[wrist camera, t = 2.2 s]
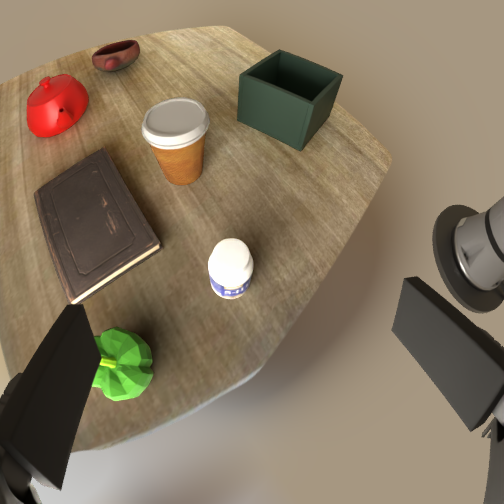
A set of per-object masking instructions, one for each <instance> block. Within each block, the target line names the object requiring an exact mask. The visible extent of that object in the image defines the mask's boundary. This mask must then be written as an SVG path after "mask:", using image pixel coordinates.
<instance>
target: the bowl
mask: <svg viewBox="0 0 504 504" xmlns="http://www.w3.org/2000/svg"><path fill="white" fill-rule="evenodd" d="M139 54H140V48H139V44H138V43H137V41H135V40H127V41H122V42H117V43H113V44H110V45H107V46H105V47H103V48H101V49H99V50H98V51H96V52H95V53H94V54H93V56H92V62H93V65H94V67H95V68H96V69H98V70H100V71H116V70H119V69H122V68H125V67H127V66H129V65H130V64H132V63H133V62H134V61H135V60H136V59H137V58H138V56H139Z"/></svg>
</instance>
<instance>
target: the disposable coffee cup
mask: <svg viewBox="0 0 504 504" xmlns="http://www.w3.org/2000/svg"><path fill="white" fill-rule="evenodd" d="M209 123H210V118H209V114H208V112H207V111H206V110H205V108H204V106H203V105H202V104H201V103H200V102H198V101H196V100H194V99H190V98H184V97H178V98H171V99H167V100H164V101H161V102H159V103H157V104H156V105H154V106H153V107H152V108H150V109H149V110H148V112H147V113H146V114H145V117H144V119H143V124H142V129H141V130H142V135H143V137H144V138H145V140H146V141H148V142H149V144H150V146H151V148H152V150H153V152H154V154H155V156H156V158H157V160H158V163H159V165H160V167H161V169H162V171H163V173H164V175H165V177H166V179H167V180H168V181H169V182H171V183H173V184H175V185H187V184H190V183H192V182H194V181H195V180H197V179H198V178H199V176H200V175H201V173H202V167H203V156H204V146H205V136H206V130H207V129H208V126H209Z"/></svg>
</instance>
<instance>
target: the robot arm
mask: <svg viewBox="0 0 504 504" xmlns="http://www.w3.org/2000/svg"><path fill="white" fill-rule="evenodd" d="M451 247H452V253H453V257H454V260H455V263H456V265H457V267H458V270H459V271H460V273H461V275H462V276H463V278H464V279H465V280H466V282H467V283H468V284H469V285H470V286H471V287H473V288H474V289H476V290H478V291H481V292H488V291H490V290H492V289H494V288H496V287H497V286H498V285H499V284H500V286H501V288H502V290H503V292H504V283H503V280H504V197H503V198H501V199H500V200H499V201H498V202H497V203H496V204H494V205H493V206H492V207H491V208H490V209H489V210H487V211H486V212H483V213H480V214H477V215H474V216H470V217H466V218H463V219H461V220H460V222H459V223H458V224H457V225H456V226H455V227H454V229H453V232H452V236H451ZM392 332H393V333H394V334H395V335H396V336H397V338H398V339H399V340H400V341H401V342H402V344H403V345H404V346H405V347H406V348H407V350H408V351H409V352H410V353H411V355H412V356H413V357H414V358H415V359H416V361H417V362H418V363H419V365H420V366H421V367H422V368H423V370H424V371H425V372H426V373H427V374H428V376H429V377H430V378H431V380H432V381H433V382H434V384H435V385H436V386H437V387H438V389H439V390H440V391H441V393H442V394H443V395H444V396H445V398H446V399H447V401H448V402H449V403H450V405H451V406H452V407H453V409H454V410H455V411H456V412H457V414H458V415H459V417H460V418H461V419H462V421H463V422H464V423H465V425H466V426H467V427H468V429H469V431H470V432H471V431H473V430H474V429H476V428H478V427H479V426H481V425H482V424H483V423H485V421H486V420H487V418H488V417H489V416H490V414H491V413H493V414H494V416H495V417H494V419H493V420H492V421H491V423H490V424H489V425H488V427H487V428H486V429H485V430H484V432H483V433H482V437H484V436H485V435H486V434H487V433H488V432H489V430H490V429H491V432H490V433H489V435H488V437H487V438H491V446H490V461H489V471H488V479H487V486H486V492H485V498H484V504H504V347H503V346H502V347H501V344H500V343H498V342H497V341H496V340H494V338H493V337H492V336H491V335H490V334H489V333H488V332H486V331H485V330H483V329H481V328H479V327H477V326H476V325H475V324H474V323H473V322H471V321H470V320H469V319H468V318H467V317H466V316H465V315H463V314H462V313H461V312H460V311H459V310H458V309H456V308H455V307H454V306H453V305H452V304H451V303H449V302H448V301H447V300H446V299H445V298H443V297H442V296H441V295H440V294H438V293H437V292H436V291H435V290H434V289H432V288H431V287H430V286H429V285H427V284H426V283H425V282H424V281H422V280H421V279H420V278H419V277H409V278H404V281H403V285H402V290H401V295H400V299H399V303H398V308H397V312H396V316H395V320H394V323H393V327H392ZM101 360H102V357H101V354H100V352H99V349H98V347H97V344H96V341H95V338H94V336H93V333H92V330H91V327H90V324H89V321H88V319H87V315H86V312H85V309H84V306H83V304H79V305H67V306H66V307H65V309H64V310H63V311H62V313H61V314H60V316H59V317H58V319H57V320H56V322H55V323H54V324H53V326H52V327H51V329H50V330H49V332H48V333H47V335H46V336H45V338H44V340H43V341H42V343H41V344H40V346H39V347H38V349H37V351H36V352H35V354H34V355H33V357H32V359H31V360H30V362H29V364H28V365H27V367H26V369H25V370H24V372H23V373H18V374H17V375H16V376H15V377H14V378H13V379H12V380H11V381H10V382H9V383H8V385H7V387H6V389H5V390H4V395H3V394H2V396H1V398H0V504H42V502H41V500H40V498H39V496H38V494H37V492H36V489H35V488H34V486H33V485H32V484H31V483H30V482H31V478H32V477H33V478H35V479H36V480H37V481H38V482H39V483H40V484H42V485H44V486H47V487H50V488H53V489H57V490H61V489H62V484H63V480H64V476H65V472H66V468H67V464H68V460H69V457H70V453H71V449H72V446H73V442H74V439H75V435H76V432H77V429H78V426H79V422H80V419H81V416H82V413H83V410H84V407H85V404H86V401H87V398H88V395H89V392H90V390H91V387H92V384H93V381H94V378H95V376H96V373H97V370H98V368H99V365H100V362H101Z"/></svg>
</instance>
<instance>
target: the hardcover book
mask: <svg viewBox="0 0 504 504" xmlns="http://www.w3.org/2000/svg"><path fill="white" fill-rule="evenodd" d="M34 198H35V202H36V207H37V211H38V214H39V218H40V222H41V226H42V229H43V233H44V236H45V239H46V243H47V246H48V249H49V252H50V255H51V258H52V261H53V264H54V267H55V270H56V272H57V275H58V278H59V280H60V283H61V286H62V288H63V291H64V293H65V296H66V298H67V301H68V303H69V305H79V304H80V303H82V302H83V301H85V300H86V299H88V298H89V297H91V296H92V295H93V294H95V293H96V292H98V291H99V290H101V289H102V288H104V287H105V286H107V285H108V284H110V283H111V282H113V281H114V280H116V279H117V278H119V277H120V276H122V275H123V274H125V273H126V272H128V271H130V270H131V269H133V268H134V267H136V266H137V265H139V264H140V263H142V262H143V261H145V260H147V259H148V258H150V257H151V256H153V255H154V254H156V253H158V252H159V251H161V250H162V249H163V247H162V246H161V244H160V241H159V239H158V238H157V236H156V235H155V233H154V231H153V230H152V228H151V226H150V225H149V223H148V221H147V220H146V218H145V216H144V215H143V213H142V211H141V210H140V208H139V206H138V205H137V203H136V201H135V200H134V198H133V196H132V194H131V193H130V191H129V189H128V187H127V186H126V184H125V182H124V180H123V179H122V177H121V175H120V173H119V172H118V170H117V168H116V166H115V164H114V162H113V161H112V159H111V157H110V155H109V153H108V151H107V149H106V148H105V147H103V148H101V149H100V150H98V151H96V152H94V153H93V154H91V155H89V156H88V157H86V158H85V159H83V160H81V161H80V162H78V163H76V164H75V165H73V166H72V167H70V168H69V169H67V170H66V171H64V172H63V173H61V174H60V175H58V176H57V177H55V178H54V179H52V180H51V181H49V182H48V183H47V184H45V185H44V186H42V187H41V188H40V189H38V190H37V191H36V192H35V193H34Z"/></svg>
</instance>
